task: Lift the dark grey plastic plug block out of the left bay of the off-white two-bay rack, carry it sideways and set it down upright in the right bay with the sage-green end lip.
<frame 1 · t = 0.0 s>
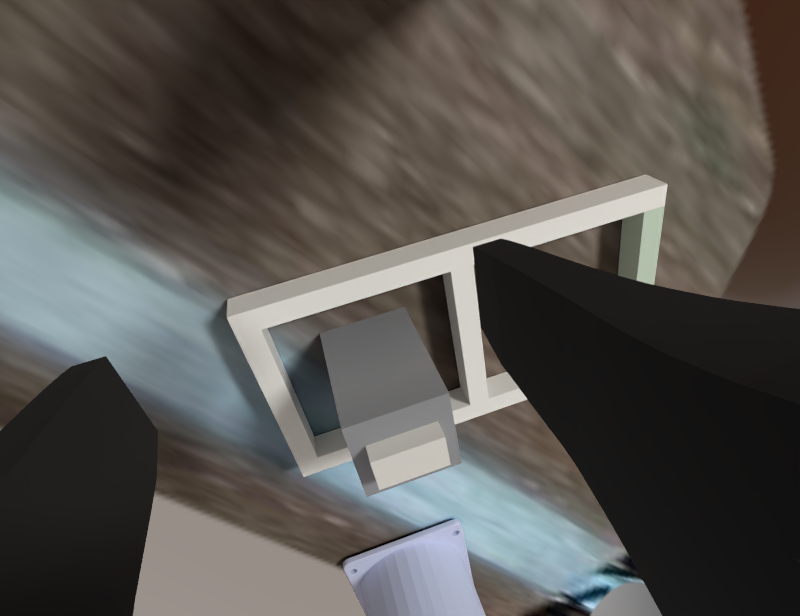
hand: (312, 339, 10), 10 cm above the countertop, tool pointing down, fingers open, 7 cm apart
rack: (460, 325, 24), on the countertop
plug: (371, 353, 23), resting in rack
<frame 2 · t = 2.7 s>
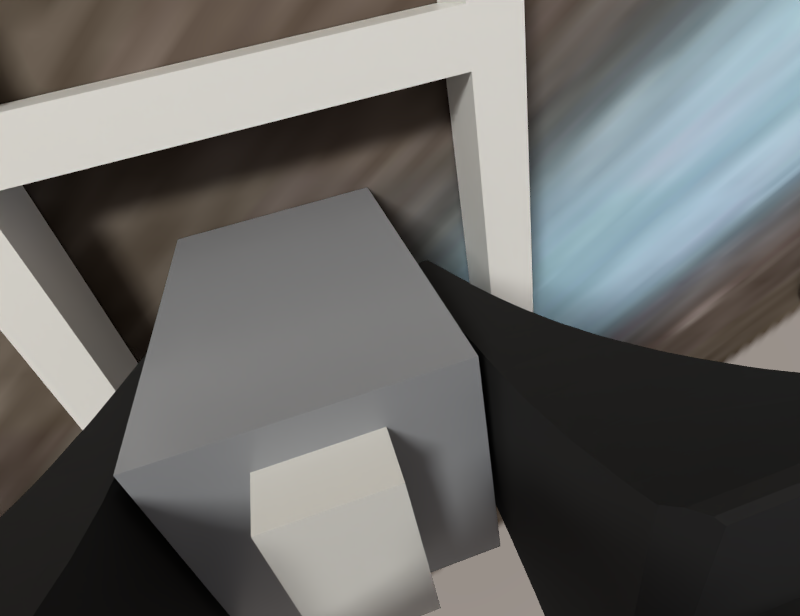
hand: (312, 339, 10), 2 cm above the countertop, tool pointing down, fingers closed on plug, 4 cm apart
rack: (229, 84, 9), on the countertop
plug: (302, 292, 11), resting in rack, touching gripper
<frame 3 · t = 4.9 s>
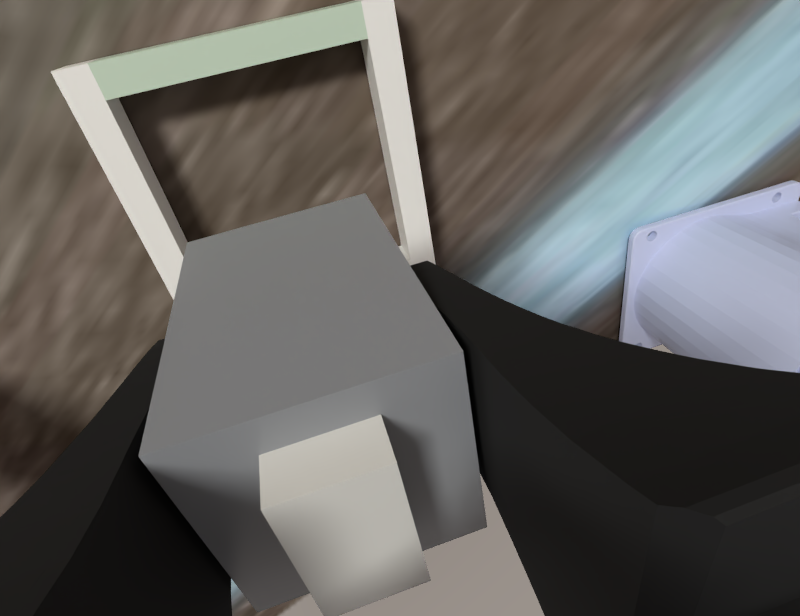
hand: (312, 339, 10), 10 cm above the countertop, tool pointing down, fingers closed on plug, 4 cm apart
rack: (313, 282, 21), on the countertop
plug: (304, 292, 12), point 8 cm above the countertop, touching gripper
when the fingers open (3 cm above the countertop, at t = 7.1 s): plug stays where it is, resting in rack.
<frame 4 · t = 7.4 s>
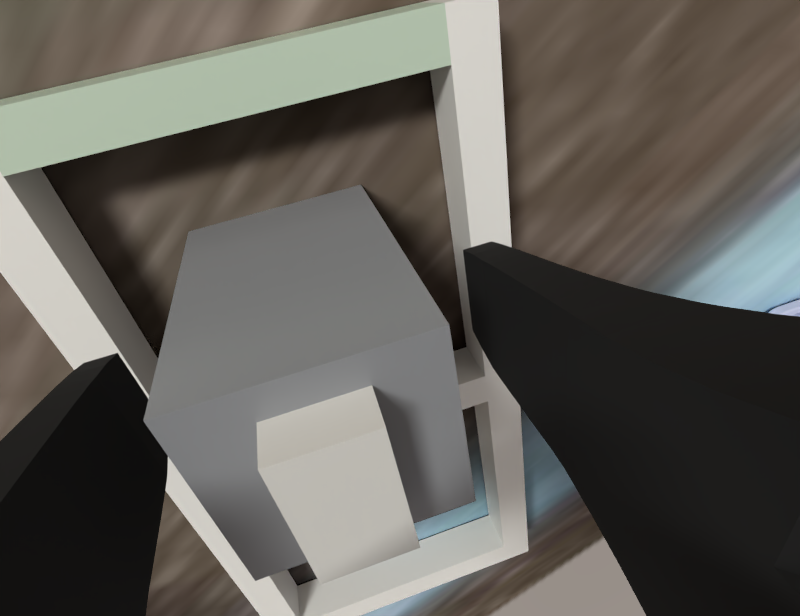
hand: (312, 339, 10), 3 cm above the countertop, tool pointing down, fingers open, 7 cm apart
rack: (343, 400, 15), on the countertop
plug: (302, 280, 12), resting in rack
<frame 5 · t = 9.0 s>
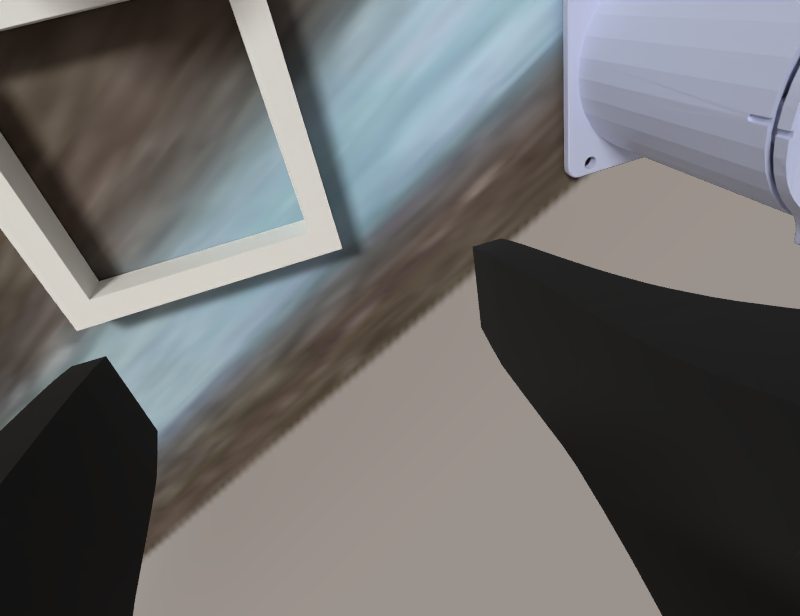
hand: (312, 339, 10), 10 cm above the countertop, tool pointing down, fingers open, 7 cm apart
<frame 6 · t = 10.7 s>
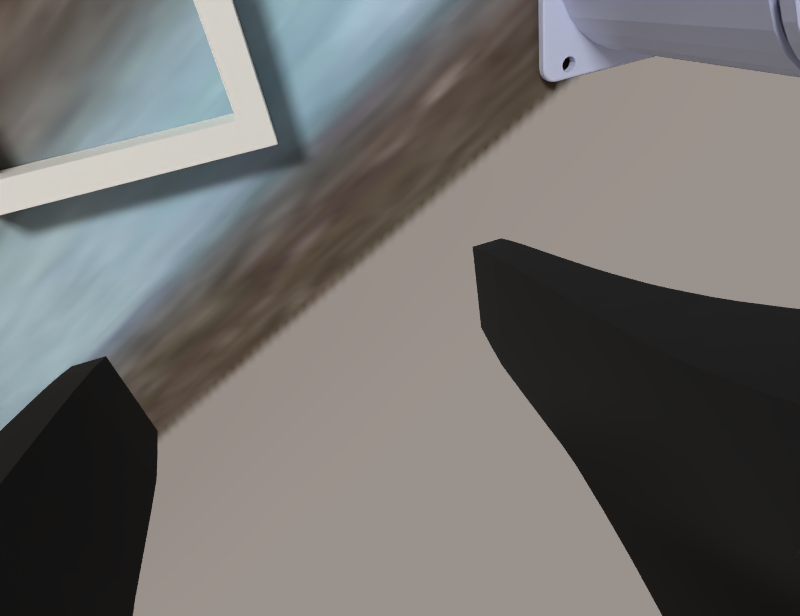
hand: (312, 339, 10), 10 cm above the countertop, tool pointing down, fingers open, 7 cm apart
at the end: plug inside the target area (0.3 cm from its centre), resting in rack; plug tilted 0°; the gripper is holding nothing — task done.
